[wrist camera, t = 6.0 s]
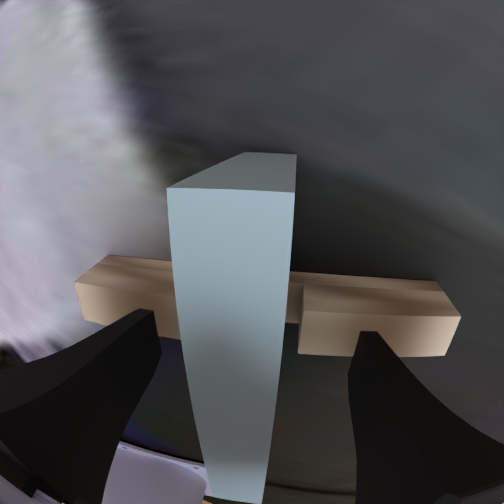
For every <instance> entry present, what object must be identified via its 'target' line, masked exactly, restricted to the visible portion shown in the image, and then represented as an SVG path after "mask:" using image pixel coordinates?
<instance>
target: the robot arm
mask: <svg viewBox="0 0 504 504" xmlns="http://www.w3.org/2000/svg"><path fill="white" fill-rule="evenodd" d="M161 354H162V352H161V347H160V342H159V337H158V332H157V326H156V321H155V315H154V310H147V309H141V308H139V309H136V310H134V311H133V312H131V313H129V314H127V315H125V316H124V317H122V318H120V319H119V320H117V321H115V322H113V323H112V324H110V325H108V326H107V327H105V328H103V329H101V330H100V331H98V332H96V333H95V334H93V335H91V336H89V337H87V338H85V339H83V340H81V341H80V342H78V343H76V344H74V345H72V346H70V347H68V348H66V349H64V350H61V351H59V352H57V353H54V354H52V355H49V356H47V357H44V358H41V359H38V360H35V361H32V362H29V363H26V364H22V365H18V366H14V367H10V368H5V369H0V504H61V503H64V504H202V500H203V497H204V495H208V496H213V495H212V491H211V488H210V484H209V480H208V476H207V472H206V468H205V464H202V463H197V462H193V461H188V460H184V459H180V458H176V457H172V456H168V455H164V454H160V453H157V452H153V451H150V450H147V449H143V448H140V447H137V446H134V445H131V444H128V443H125V442H122V441H120V439H121V436H122V434H123V431H124V429H125V427H126V425H127V423H128V421H129V419H130V417H131V415H132V413H133V411H134V410H135V408H136V406H137V404H138V402H139V401H140V399H141V397H142V395H143V393H144V392H145V390H146V388H147V386H148V384H149V383H150V381H151V379H152V377H153V375H154V372H155V370H156V367H157V365H158V362H159V359H160V357H161ZM348 392H349V404H350V411H351V418H352V424H353V431H354V439H355V446H356V457H357V484H356V502H355V504H502V503H503V502H504V444H502V443H499V442H497V441H496V440H494V439H492V438H490V437H489V436H487V435H485V434H483V433H482V432H480V431H478V430H477V429H475V428H474V427H472V426H471V425H469V424H468V423H467V422H465V421H464V420H462V419H461V418H460V417H458V416H457V415H456V414H454V413H453V412H452V411H451V410H449V409H448V408H447V407H446V406H445V405H444V404H442V403H441V402H440V401H439V400H438V399H437V398H436V397H435V396H434V395H432V394H431V393H430V392H429V391H428V390H427V389H426V388H425V386H424V385H423V384H422V383H421V382H420V381H419V380H418V379H417V378H416V377H415V376H414V375H413V374H412V373H411V371H410V370H409V369H408V368H407V367H406V366H405V365H404V363H403V362H402V361H401V360H400V359H399V357H398V356H397V355H396V354H395V353H394V351H393V350H392V349H391V348H390V346H389V345H388V344H387V343H386V341H385V340H384V339H383V338H382V337H381V335H380V334H379V333H378V332H377V331H360V333H359V337H358V341H357V345H356V348H355V352H354V355H353V359H352V362H351V365H350V369H349V372H348Z"/></svg>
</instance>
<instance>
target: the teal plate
mask: <svg viewBox="0 0 504 504" xmlns="http://www.w3.org/2000/svg"><path fill="white" fill-rule="evenodd" d="M296 159H297V154H281V153H258V152H244V153H242V154H239V155H237V156H235V157H232V158H230V159H228V160H225V161H223V162H221V163H219V164H216V165H214V166H212V167H210V168H208V169H205V170H203V171H201V172H199V173H197V174H195V175H192V176H190V177H188V178H186V179H184V180H182V181H180V182H178V183H176V184H174V185H172V186H170V187H168V188H167V204H168V220H169V234H170V247H171V258H172V269H173V279H174V288H175V297H176V305H177V313H178V321H179V329H180V336H181V343H182V350H183V356H184V362H185V369H186V375H187V380H188V386H189V392H190V397H191V403H192V408H193V413H194V418H195V423H196V428H197V433H198V437H199V442H200V446H201V451H202V455H203V459H204V464H205V468H206V472H207V476H208V480H209V484H210V488H211V491H212V495H213V497H216V498H222V499H228V500H234V501H241V502H248V503H256V504H261V503H262V497H263V491H264V485H265V479H266V472H267V465H268V459H269V452H270V445H271V437H272V430H273V423H274V415H275V407H276V399H277V391H278V382H279V374H280V365H281V356H282V346H283V337H284V327H285V316H286V306H287V295H288V283H289V271H290V258H291V245H292V231H293V216H294V200H295V181H296Z"/></svg>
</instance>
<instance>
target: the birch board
mask: <svg viewBox="0 0 504 504" xmlns="http://www.w3.org/2000/svg"><path fill="white" fill-rule="evenodd" d="M74 284H75V288H76V292H77V296H78V300H79V303H80V307H81V310H82V314H83V317H84V320H86V321H91V322H95V323H99V324H103V325H110V324H112V323H113V322H115V321H117V320H119V319H120V318H122V317H124V316H125V315H127V314H129V313H131V312H133V311H134V310H136V309H139V308H141V309H147V310H154V315H155V321H156V326H157V332H158V336H162V337H168V338H174V339H180V340H181V336H180V329H179V321H178V313H177V305H176V297H175V288H174V279H173V269H172V261H164V260H153V259H143V258H132V257H122V256H112V255H108V256H106V257H105V258H104V259H102V260H101V261H100V262H99V263H97V264H96V265H95V266H93V267H92V268H91V269H90V270H88V271H87V272H86V273H85V274H83V275H82V276H81V277H80V278H78V279H77V280H76V281H75V282H74ZM460 318H461V316H460V314H459V313H458V311H457V310H456V308H455V307H454V306H453V304H452V303H451V301H450V300H449V298H448V297H447V296H446V294H445V293H444V292H443V290H442V289H441V288H440V286H439V285H438V284H437V282H436V281H425V280H408V279H392V278H377V277H362V276H347V275H333V274H319V273H306V272H293V271H289V283H288V295H287V306H286V316H285V322H286V323H299V333H298V354H312V355H330V356H353V355H354V352H355V348H356V345H357V341H358V337H359V333H360V331H377V332H378V333H379V334H380V335H381V337H382V338H383V339H384V340H385V341H386V343H387V344H388V345H389V346H390V348H391V349H392V350H393V351H394V353H395V354H396V355H397V356H398V357H422V356H445V353H446V351H447V349H448V347H449V345H450V342H451V340H452V338H453V335H454V333H455V331H456V328H457V326H458V323H459V321H460Z"/></svg>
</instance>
